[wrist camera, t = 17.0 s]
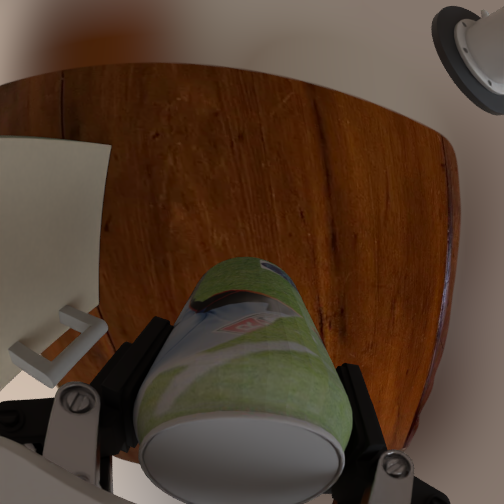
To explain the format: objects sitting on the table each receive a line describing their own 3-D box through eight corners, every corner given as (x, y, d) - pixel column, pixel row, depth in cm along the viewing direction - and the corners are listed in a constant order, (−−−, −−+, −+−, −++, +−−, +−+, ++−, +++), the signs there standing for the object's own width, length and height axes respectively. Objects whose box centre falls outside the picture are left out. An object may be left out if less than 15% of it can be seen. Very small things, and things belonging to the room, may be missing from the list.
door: (154, 150, 27) (-65, 136, 4) (135, 317, 33) (18, 456, 10) (103, 144, 27) (-88, 143, 4) (92, 301, 33) (-32, 409, 10)
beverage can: (180, 288, 17) (53, 432, 5) (278, 216, 15) (239, 355, 3) (243, 360, 18) (195, 528, 6) (341, 303, 16) (395, 495, 4)
